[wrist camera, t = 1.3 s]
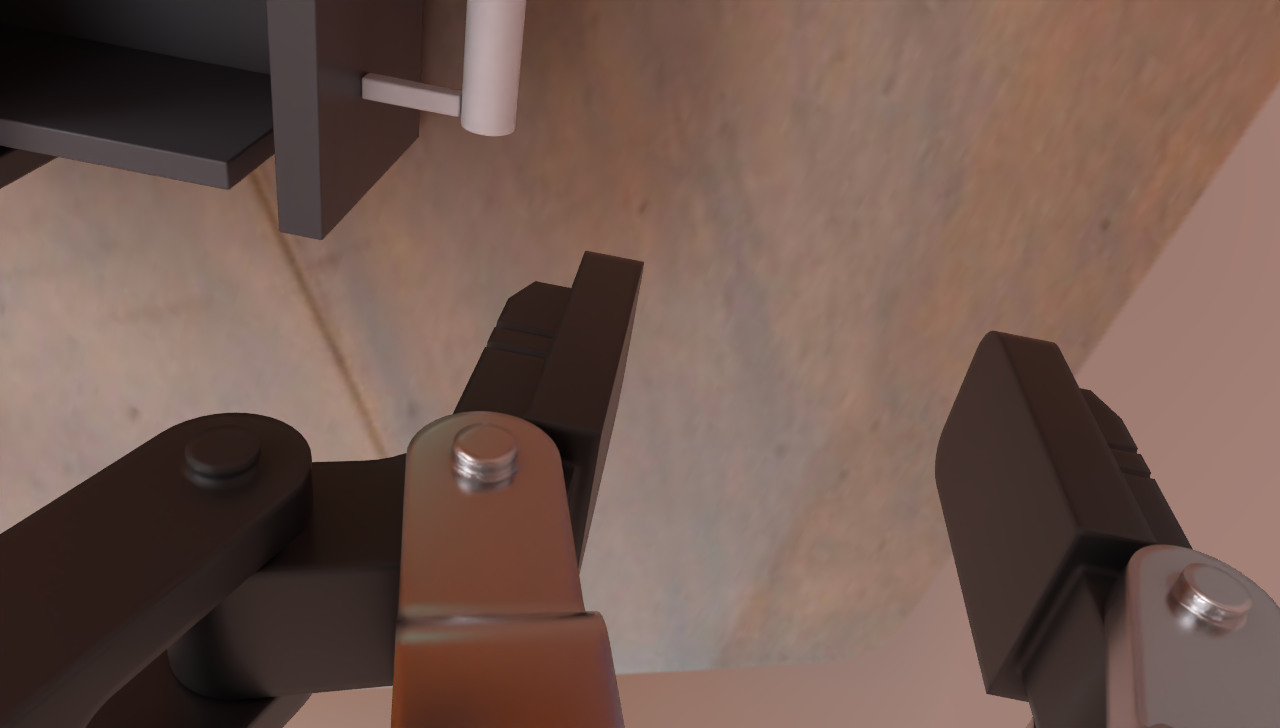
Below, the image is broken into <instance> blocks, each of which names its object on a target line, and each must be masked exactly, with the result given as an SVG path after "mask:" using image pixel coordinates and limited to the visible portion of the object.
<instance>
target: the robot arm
mask: <svg viewBox="0 0 1280 728" xmlns="http://www.w3.org/2000/svg"><path fill="white" fill-rule="evenodd" d="M643 266H644V262H642V261H637V260H632V259H626V258H621V257H616V256H611V255H606V254H601V253H596V252H590V251H585V253H584V256H583V258H582V261H581V264H580V266H579V269H578V272H577V274H576V277H575V280H574V283H573V285H572V288H567V287H562V286H557V285H552V284H547V283H542V282H537V281H535V282H533V283H532V284H530V285H529V286H527V287H526V288H524V289H523V290H521V291H519V292H518V293H516V294H515V295H513V296H512V297H510V298H508V301H507V303H506V305H505V307H504V309H503V311H502V313H501V315H500V317H499V319H498V321H497V325H496V327H494V330H493V332H492V334H491V336H490V338H489V340H488V342H487V347H485V348H484V350H483V352H482V354H481V357H480V359H479V361H478V363H477V365H476V367H475V369H474V371H473V373H472V375H471V377H470V379H469V381H468V384H467V386H466V388H465V390H464V392H463V394H462V396H461V398H460V400H459V402H458V404H457V406H456V408H455V411H454V413H453V414H452V415H448V416H445V417H442V418H440V419H437V420H435V421H433V422H431V423H430V424H428V425H426V426H425V427H423V428H422V429H421V430H420V431H419V432H417V434H416V435H415V436H414V437H413V439H412V440H411V442H410V444H409V446H408V448H407V453H405V454H402V455H398V456H395V457H390V458H385V459H379V460H367V461H340V462H312V457H311V450H310V447H309V445H308V443H307V441H306V440H305V438H304V437H303V436H302V435H301V434H300V433H299V432H298V431H297V430H295V429H294V428H293V427H291V426H290V425H288V424H286V423H284V422H282V421H279V420H277V419H274V418H271V417H267V416H262V415H258V414H249V413H222V414H213V415H208V416H202V417H198V418H195V419H191V420H188V421H185V422H182V423H180V424H178V425H175V426H173V427H171V428H169V429H167V430H165V431H164V432H162V433H160V434H158V435H157V436H155V437H154V438H152V439H151V440H149V441H147V442H146V443H144V444H143V445H141V446H139V447H138V448H136V449H135V450H133V451H132V452H130V453H128V454H127V455H125V456H124V457H122V458H120V459H119V460H117V461H116V462H114V463H112V464H111V465H109V466H108V467H106V468H105V469H103V470H101V471H100V472H98V473H97V474H95V475H93V476H92V477H90V478H89V479H87V480H86V481H84V482H82V483H81V484H79V485H78V486H76V487H74V488H73V489H71V490H70V491H68V492H67V493H65V494H63V495H62V496H60V497H59V498H57V499H55V500H54V501H52V502H51V503H49V504H47V505H46V506H44V507H43V508H41V509H40V510H38V511H36V512H35V513H33V514H32V515H30V516H28V517H27V518H25V519H24V520H22V521H21V522H19V523H17V524H16V525H14V526H13V527H11V528H9V529H8V530H6V531H5V532H3V533H1V534H0V728H283V727H284V725H285V724H286V723H287V722H288V721H289V720H290V719H291V718H292V717H293V716H294V715H295V714H296V712H298V710H299V709H300V708H301V707H302V706H303V705H304V704H305V702H306V701H307V700H308V699H309V697H310V696H311V694H312V693H318V692H329V691H340V690H350V689H361V688H372V687H382V686H393V696H392V715H391V728H625V726H624V721H623V716H622V709H621V704H620V699H619V693H618V687H617V682H616V676H615V670H614V664H613V659H612V653H611V647H610V642H609V637H608V632H607V628H606V625H605V622H604V619H603V617H602V615H601V614H600V612H598V611H586V612H585V608H584V603H583V597H582V591H581V584H580V578H579V574H580V569H581V565H582V561H583V556H584V552H585V547H586V543H587V539H588V534H589V530H590V526H591V521H592V517H593V513H594V508H595V504H596V500H597V495H598V491H599V487H600V482H601V478H602V473H603V469H604V465H605V460H606V456H607V452H608V447H609V443H610V439H611V434H612V430H613V426H614V421H615V417H616V412H617V408H618V403H619V398H620V393H621V388H622V383H623V378H624V372H625V367H626V361H627V356H628V350H629V345H630V339H631V334H632V328H633V322H634V317H635V311H636V306H637V300H638V295H639V289H640V284H641V278H642V272H643ZM1137 449H1138V448H1137V446H1136V444H1135V443H1134V441H1133V439H1132V437H1131V435H1130V433H1129V432H1128V430H1127V428H1126V426H1125V424H1124V423H1123V421H1122V419H1121V418H1120V417H1119V416H1117V414H1116V413H1115V412H1113V411H1112V410H1111V409H1110V408H1109V407H1108V406H1107V405H1106V404H1105V403H1104V402H1103V401H1101V400H1100V399H1099V398H1098V397H1097V396H1096V395H1095V394H1094V393H1093V392H1092V391H1091V390H1086V389H1081V388H1079V386H1078V385H1077V383H1076V381H1075V379H1074V377H1073V375H1072V373H1071V371H1070V369H1069V367H1068V365H1067V363H1066V361H1065V359H1064V357H1063V355H1062V353H1061V351H1060V349H1059V347H1058V346H1057V345H1056V344H1055V343H1053V342H1049V341H1044V340H1038V339H1033V338H1028V337H1023V336H1018V335H1013V334H1008V333H1003V332H997V331H990V332H989V333H987V334H986V335H985V336H984V338H983V339H982V340H981V342H980V344H979V346H978V348H977V350H976V352H975V355H974V357H973V360H972V362H971V364H970V367H969V369H968V371H967V374H966V376H965V379H964V381H963V383H962V386H961V388H960V390H959V393H958V395H957V397H956V400H955V402H954V405H953V407H952V409H951V412H950V414H949V416H948V419H947V421H946V424H945V426H944V428H943V431H942V434H941V437H940V440H939V444H938V448H937V453H936V461H935V479H936V484H937V489H938V493H939V497H940V501H941V505H942V510H943V514H944V518H945V522H946V526H947V531H948V535H949V539H950V543H951V547H952V552H953V556H954V560H955V564H956V568H957V572H958V577H959V580H960V585H961V589H962V593H963V597H964V602H965V606H966V610H967V614H968V618H969V623H970V627H971V631H972V635H973V639H974V643H975V647H976V652H977V656H978V660H979V665H980V669H981V673H982V677H983V681H984V685H985V689H986V693H987V694H991V695H996V696H1000V697H1006V698H1011V699H1016V700H1021V701H1026V702H1029V704H1030V707H1031V711H1032V715H1033V717H1032V719H1031V721H1030V722H1029V724H1028V726H1027V727H1026V728H1280V608H1279V607H1278V606H1277V604H1276V603H1275V602H1274V600H1273V599H1272V598H1271V597H1269V595H1268V594H1267V593H1266V592H1265V591H1264V590H1263V589H1261V588H1260V587H1259V586H1258V585H1257V584H1255V583H1254V582H1253V581H1252V580H1250V579H1249V578H1248V577H1246V576H1245V575H1243V574H1242V573H1241V572H1239V571H1237V570H1236V569H1234V568H1232V567H1231V566H1229V565H1227V564H1226V563H1223V562H1222V561H1220V560H1218V559H1216V558H1213V557H1211V556H1209V555H1206V554H1204V553H1201V552H1198V551H1195V550H1193V549H1192V547H1191V545H1190V544H1189V541H1188V540H1187V538H1186V536H1185V534H1184V532H1183V530H1182V529H1181V527H1180V525H1179V523H1178V521H1177V520H1176V518H1175V516H1174V514H1173V512H1172V510H1171V509H1170V507H1169V505H1168V503H1167V501H1166V499H1165V498H1164V496H1163V494H1162V492H1161V490H1160V488H1159V487H1158V485H1157V483H1156V481H1155V479H1151V478H1150V474H1151V472H1150V470H1149V468H1148V466H1147V465H1146V463H1145V461H1144V459H1143V457H1142V455H1141V454H1137Z"/></svg>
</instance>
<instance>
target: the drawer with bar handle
mask: <svg viewBox="0 0 1280 728" xmlns="http://www.w3.org/2000/svg"><path fill="white" fill-rule="evenodd" d="M525 9H526V0H467V14H466V32H465V50H464V68H463V86H462V91H461V90H456V89H451V88H446V87H441V86H436V85H430V84H425V83H421V53H422V21H423V0H0V146H5V147H11V148H16V149H21V150H26V151H31V152H36V153H41V154H47V155H52V156H57V157H62V158H67V159H72V160H77V161H82V162H88V163H93V164H98V165H103V166H108V167H113V168H118V169H123V170H129V171H134V172H139V173H144V174H149V175H154V176H159V177H165V178H170V179H175V180H180V181H185V182H190V183H195V184H200V185H206V186H211V187H216V188H221V189H226V190H229V189H231V188H232V187H233V186H234V185H236V184H237V183H238V182H240V181H241V180H242V179H243V178H245V177H246V176H247V175H248V174H250V173H251V172H252V171H253V170H255V169H256V168H257V167H258V166H260V165H261V164H262V163H264V162H265V161H266V160H267V159H269V158H270V157H271V156H272V155H274V154H275V165H276V183H277V200H278V218H279V231H280V232H283V233H288V234H293V235H298V236H303V237H308V238H313V239H319V240H323V239H324V238H325V237H326V236H327V234H328V233H329V232H330V231H331V230H332V229H333V228H334V227H335V226H336V225H337V224H338V223H339V222H340V221H341V219H342V218H343V217H344V216H345V215H346V214H347V213H348V212H349V211H350V210H351V209H352V208H353V207H354V206H355V204H356V203H357V202H358V201H359V200H360V199H361V198H362V197H363V196H364V195H365V194H366V193H367V192H368V191H369V189H370V188H371V187H372V186H373V185H374V184H375V183H376V182H377V181H378V180H379V179H380V178H381V177H382V176H383V174H384V173H385V172H386V171H387V170H388V169H389V168H390V167H391V166H392V165H393V164H394V163H395V162H396V161H397V159H398V158H399V157H400V156H401V155H402V154H403V153H404V152H405V151H406V150H407V149H408V148H409V147H410V146H411V144H412V143H413V142H414V141H415V140H416V139H417V138H418V137H419V118H420V110H424V111H429V112H435V113H440V114H445V115H450V116H455V117H458V116H460V114H461V125H462V127H463V128H464V129H466V130H468V131H470V132H472V133H475V134H479V135H484V136H505V135H508V134H511V133H512V132H513V131H514V130H515V122H516V111H517V100H518V88H519V77H520V66H521V54H522V43H523V32H524V20H525Z"/></svg>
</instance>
